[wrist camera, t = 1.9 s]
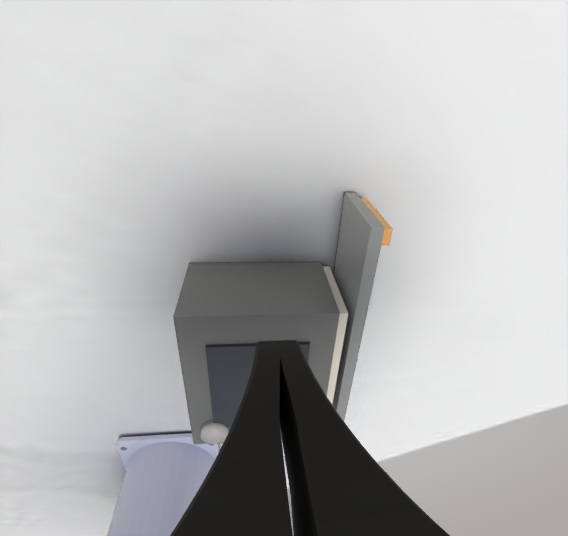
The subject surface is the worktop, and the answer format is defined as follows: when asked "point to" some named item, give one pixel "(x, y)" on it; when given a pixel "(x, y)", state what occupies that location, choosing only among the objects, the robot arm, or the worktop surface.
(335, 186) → the worktop surface
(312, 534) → the robot arm
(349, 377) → the side door
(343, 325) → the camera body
